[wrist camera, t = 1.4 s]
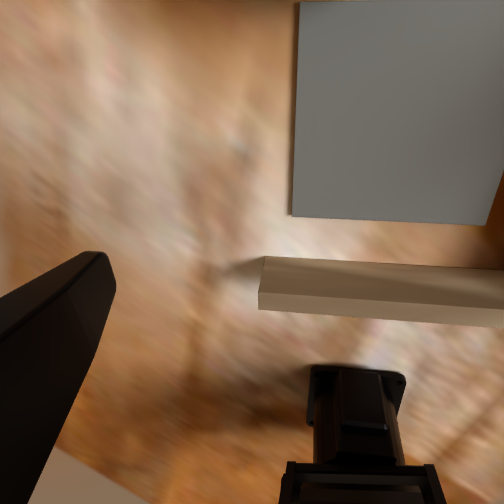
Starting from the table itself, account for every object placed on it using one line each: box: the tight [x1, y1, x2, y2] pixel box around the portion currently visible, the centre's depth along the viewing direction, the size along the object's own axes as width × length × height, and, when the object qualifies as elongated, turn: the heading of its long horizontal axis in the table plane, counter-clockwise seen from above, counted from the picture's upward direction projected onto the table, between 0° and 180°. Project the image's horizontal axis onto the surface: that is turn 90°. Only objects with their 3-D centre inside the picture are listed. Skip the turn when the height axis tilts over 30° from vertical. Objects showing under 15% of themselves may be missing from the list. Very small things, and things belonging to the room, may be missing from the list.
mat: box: [292, 0, 504, 226], centre depth 18 cm, size 10×10×1 cm
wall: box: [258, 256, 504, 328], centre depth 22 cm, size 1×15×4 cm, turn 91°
